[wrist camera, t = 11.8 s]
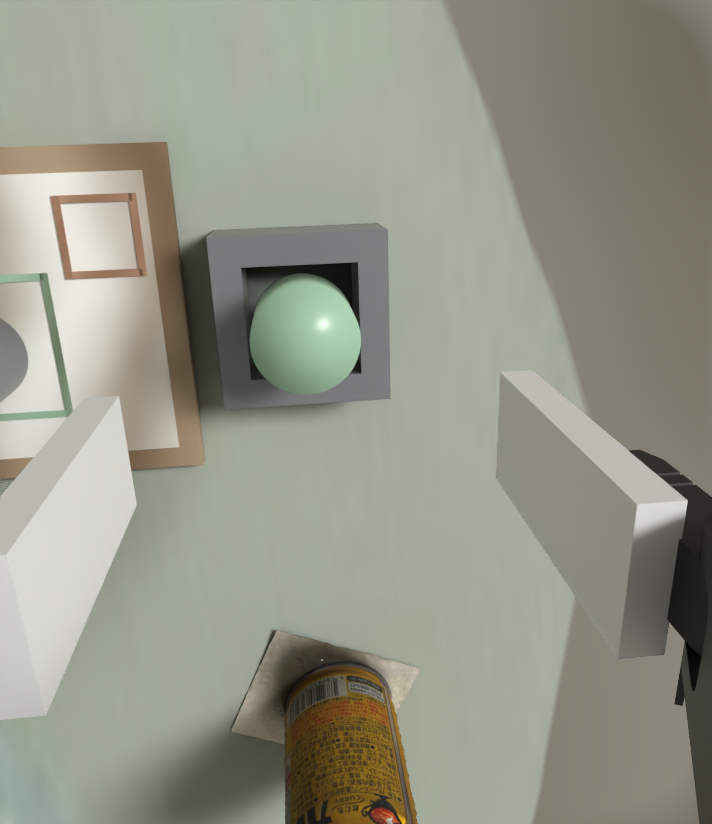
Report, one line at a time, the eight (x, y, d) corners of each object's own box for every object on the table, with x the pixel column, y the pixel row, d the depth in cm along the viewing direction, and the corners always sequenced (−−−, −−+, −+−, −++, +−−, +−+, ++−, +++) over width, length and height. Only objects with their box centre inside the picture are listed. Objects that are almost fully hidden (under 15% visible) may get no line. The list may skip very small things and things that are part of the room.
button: (257, 374, 28) (254, 398, 25) (248, 275, 26) (244, 289, 24) (354, 368, 28) (362, 391, 25) (351, 270, 27) (359, 283, 24)
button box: (229, 387, 31) (224, 409, 28) (213, 230, 29) (206, 237, 26) (380, 378, 32) (390, 399, 29) (377, 223, 29) (387, 229, 26)
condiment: (368, 761, 40) (402, 995, 29) (230, 728, 38) (208, 965, 27) (420, 665, 38) (477, 877, 27) (276, 625, 36) (274, 835, 25)
